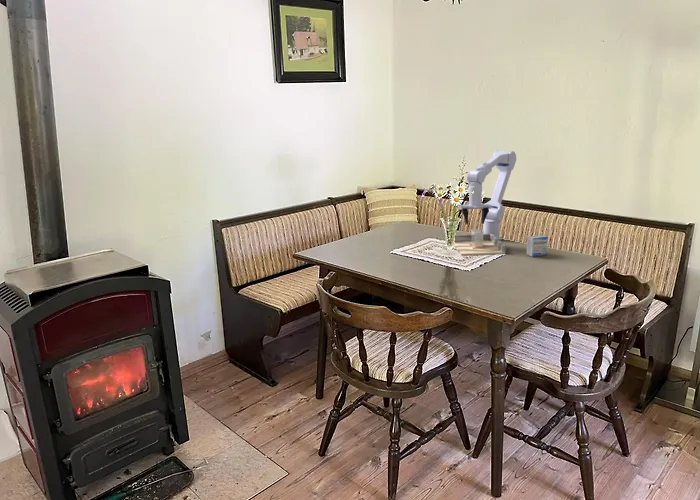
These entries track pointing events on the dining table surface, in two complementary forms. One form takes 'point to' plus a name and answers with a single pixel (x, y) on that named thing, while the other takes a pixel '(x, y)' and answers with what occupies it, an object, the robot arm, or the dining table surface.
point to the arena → (489, 247)
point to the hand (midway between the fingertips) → (474, 223)
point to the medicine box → (537, 245)
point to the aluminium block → (477, 238)
